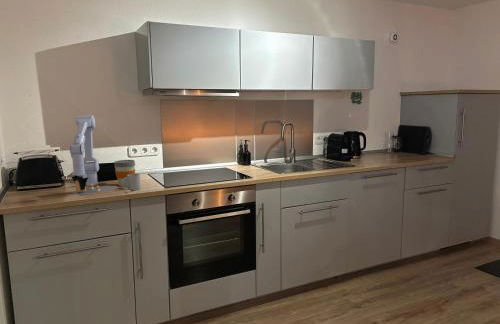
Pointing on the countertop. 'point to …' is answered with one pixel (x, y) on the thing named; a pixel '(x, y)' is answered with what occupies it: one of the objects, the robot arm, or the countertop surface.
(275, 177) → the countertop surface
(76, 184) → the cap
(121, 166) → the reusable coffee cup
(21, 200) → the countertop surface
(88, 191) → the board
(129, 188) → the cup
